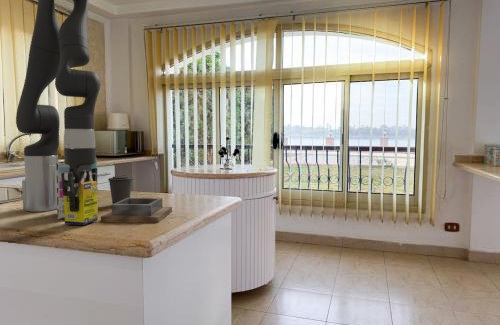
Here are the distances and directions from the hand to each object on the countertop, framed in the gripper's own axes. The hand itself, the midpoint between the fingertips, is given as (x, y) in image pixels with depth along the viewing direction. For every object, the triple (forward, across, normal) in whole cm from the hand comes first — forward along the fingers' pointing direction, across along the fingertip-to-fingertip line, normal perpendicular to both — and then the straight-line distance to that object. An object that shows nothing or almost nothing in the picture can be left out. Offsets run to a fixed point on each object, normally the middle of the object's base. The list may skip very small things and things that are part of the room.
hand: (81, 208), depth 93 cm
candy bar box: (+4, -9, -9) cm, 13 cm away
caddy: (+4, -9, +12) cm, 16 cm away
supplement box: (+4, 0, 0) cm, 4 cm away
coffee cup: (+4, -25, 0) cm, 25 cm away
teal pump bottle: (+4, -32, -15) cm, 35 cm away
